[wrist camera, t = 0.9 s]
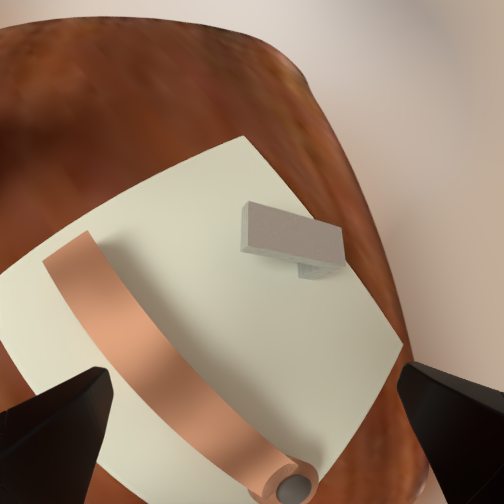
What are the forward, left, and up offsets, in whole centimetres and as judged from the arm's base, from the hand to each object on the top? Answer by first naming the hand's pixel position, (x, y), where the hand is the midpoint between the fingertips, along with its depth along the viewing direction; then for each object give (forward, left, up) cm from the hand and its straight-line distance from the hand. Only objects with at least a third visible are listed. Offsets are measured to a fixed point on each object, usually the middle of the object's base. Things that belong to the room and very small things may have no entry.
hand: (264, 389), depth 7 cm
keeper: (+11, +2, -11) cm, 15 cm away
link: (-1, -1, -10) cm, 10 cm away
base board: (+4, -1, -11) cm, 12 cm away
